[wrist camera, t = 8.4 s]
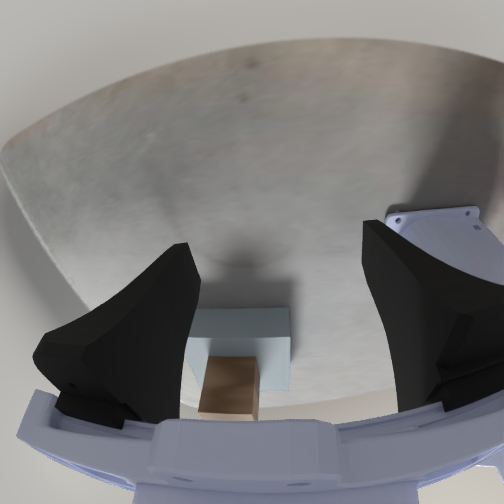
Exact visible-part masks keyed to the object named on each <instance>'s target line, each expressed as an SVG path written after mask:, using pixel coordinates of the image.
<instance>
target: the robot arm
mask: <svg viewBox="0 0 504 504" xmlns="http://www.w3.org/2000/svg"><path fill="white" fill-rule="evenodd" d="M467 211H468V212H467ZM466 212H467V214H466ZM479 213H480V210H479V208H478V207H477V206H469V207H456V208H444V209H433V210H422V211H411V212H401V213H391V214H389V215H387V217H386V219H385V224H384V223H382V222H381V221H379V220H367V221H363V241H362V266H363V270H364V274H365V277H366V281H367V284H368V287H369V289H370V292H371V294H372V297H373V299H374V302H375V304H376V307H377V309H378V312H379V315H380V317H381V320H382V323H383V325H384V329H385V332H386V336H387V340H388V344H389V349H390V354H391V359H392V365H393V370H394V377H395V384H396V392H397V402H398V413H396V414H391V415H387V416H382V417H377V418H372V419H366V420H361V421H355V422H348V423H342V424H334V425H333V424H331V423H328V422H323V421H319V420H315V419H303V420H302V419H287V420H266V421H216V420H196V419H180V416H179V413H180V412H179V410H180V390H181V379H182V369H183V361H184V354H185V349H186V344H187V340H188V336H189V333H190V329H191V325H192V322H193V318H194V315H195V311H196V307H197V303H198V299H199V292H200V284H201V279H200V276H199V274H198V271H197V268H196V265H195V262H194V260H193V257H192V254H191V251H190V248H189V245H188V242H187V243H179V244H174V245H173V246H171V247H170V248H169V249H168V250H166V251H165V252H164V253H163V254H162V255H161V256H160V257H159V258H157V259H156V260H155V261H154V262H153V263H152V264H151V265H150V266H149V267H148V268H147V269H146V270H145V271H143V272H142V273H141V274H140V275H139V276H138V277H137V278H135V279H134V280H133V281H132V282H131V283H130V284H129V285H127V286H126V287H125V288H124V289H122V290H121V291H120V292H119V293H117V294H116V295H114V296H113V297H112V298H110V299H109V300H108V301H106V302H105V303H103V304H101V305H100V306H98V307H97V308H95V309H94V310H92V311H91V312H89V313H87V314H85V315H84V316H82V317H80V318H78V319H76V320H74V321H72V322H70V323H68V324H66V325H64V326H62V327H59V328H57V329H55V330H52V331H50V332H48V333H45V334H44V336H43V337H42V339H41V341H40V343H39V344H38V346H37V348H36V350H35V351H34V353H33V360H34V364H35V365H36V367H37V368H38V370H39V371H40V372H41V373H42V374H43V375H44V376H45V377H46V378H47V379H48V380H49V381H50V382H51V383H52V384H53V385H54V386H55V387H56V388H57V389H59V390H60V391H61V392H60V395H59V397H57V396H55V395H53V394H51V393H47V392H44V391H41V390H38V389H36V390H35V392H34V394H33V396H32V398H31V400H30V403H29V405H28V407H27V410H26V412H25V415H24V417H23V419H22V422H21V424H20V427H19V430H18V432H17V438H18V439H20V440H21V441H23V442H24V443H26V444H27V445H29V446H30V447H32V448H34V449H35V450H37V451H38V452H40V453H42V454H43V455H45V456H47V457H48V458H50V459H52V460H54V461H56V462H58V463H60V464H62V465H64V466H66V467H69V468H71V469H73V470H75V471H78V472H80V473H83V474H85V475H88V476H90V477H92V478H95V479H98V480H100V481H103V482H106V483H109V484H111V485H114V486H118V487H120V488H123V489H127V490H130V491H133V492H135V494H134V499H133V504H419V500H418V491H417V489H418V488H421V487H424V486H427V485H430V484H433V483H436V482H438V481H441V480H443V479H446V478H448V477H451V476H453V475H456V474H458V473H460V472H462V471H465V470H467V469H469V468H471V467H473V466H487V467H495V468H496V469H497V472H498V474H499V475H500V477H501V479H502V481H503V483H504V245H503V244H502V243H501V242H500V241H499V240H498V238H497V237H496V236H495V235H494V234H493V233H492V232H491V231H490V230H489V229H488V228H487V227H486V226H485V225H484V224H483V223H482V222H481V221H480V220H479V219H478V218H479ZM397 218H399V220H398V221H396V219H397Z"/></svg>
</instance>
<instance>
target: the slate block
mask: <svg viewBox="0 0 504 504" xmlns="http://www.w3.org/2000/svg"><path fill="white" fill-rule="evenodd" d="M184 355H185V357H186V360H187V362H188V364H189V366H190V368H191V370H192V372H193V374H194V377H195V379H196V381H197V383H198V385H199V387H200V389H201V390H202V387H203V381H204V376H205V370H206V365H207V360H208V356H221V357H248V356H256V360H257V366H258V372H259V377H260V391H259V392H278V391H290V317H289V307H273V308H234V309H196V311H195V315H194V318H193V322H192V325H191V329H190V333H189V336H188V340H187V344H186V349H185V354H184Z"/></svg>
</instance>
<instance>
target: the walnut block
mask: <svg viewBox="0 0 504 504" xmlns="http://www.w3.org/2000/svg"><path fill="white" fill-rule="evenodd" d="M259 391H260V377H259V372H258V366H257V360H256V356H248V357H221V356H208V360H207V365H206V370H205V376H204V381H203V387H202V392H201V398H200V403H199V409H198V413H199V414H200V416H201V417H202V419H203V420H216V421H258V410H259Z"/></svg>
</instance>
